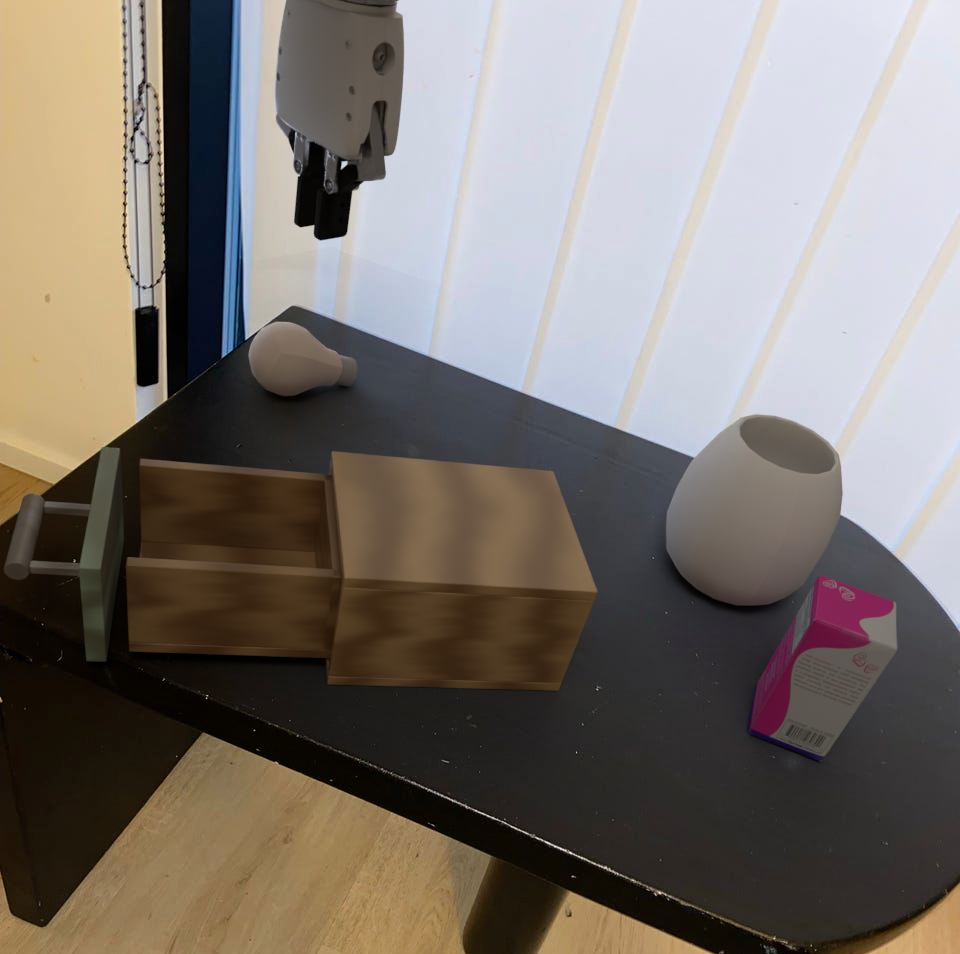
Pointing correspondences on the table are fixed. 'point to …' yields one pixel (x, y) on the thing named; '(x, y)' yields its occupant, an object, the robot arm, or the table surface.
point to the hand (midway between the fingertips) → (320, 229)
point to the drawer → (202, 559)
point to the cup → (755, 511)
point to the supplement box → (823, 667)
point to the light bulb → (296, 361)
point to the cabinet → (454, 576)
